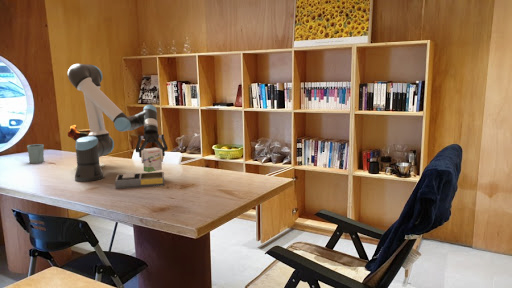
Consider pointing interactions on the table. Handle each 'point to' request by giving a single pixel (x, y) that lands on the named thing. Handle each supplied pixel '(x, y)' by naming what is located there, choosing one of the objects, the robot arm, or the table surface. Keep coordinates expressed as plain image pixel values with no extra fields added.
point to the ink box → (152, 159)
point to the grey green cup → (36, 153)
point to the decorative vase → (79, 135)
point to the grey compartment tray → (139, 180)
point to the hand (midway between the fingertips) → (152, 161)
